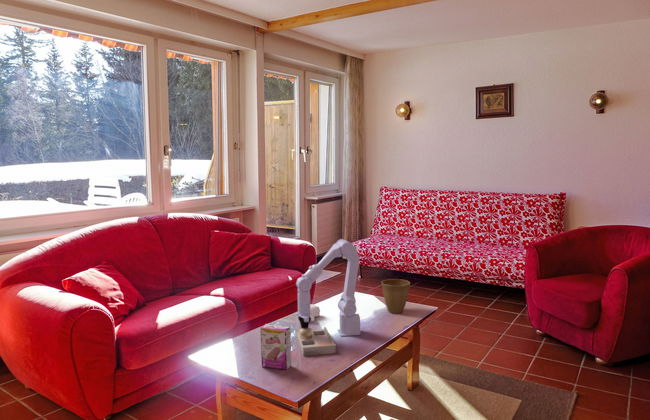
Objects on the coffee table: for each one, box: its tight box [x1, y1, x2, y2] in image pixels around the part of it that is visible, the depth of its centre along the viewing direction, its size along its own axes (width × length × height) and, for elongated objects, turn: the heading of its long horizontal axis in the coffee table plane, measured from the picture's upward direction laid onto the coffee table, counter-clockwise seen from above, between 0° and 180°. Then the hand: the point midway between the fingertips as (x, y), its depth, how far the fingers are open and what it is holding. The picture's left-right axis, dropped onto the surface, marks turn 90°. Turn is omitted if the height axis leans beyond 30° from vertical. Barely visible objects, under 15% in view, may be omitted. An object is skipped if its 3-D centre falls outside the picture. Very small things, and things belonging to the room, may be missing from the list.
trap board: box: [295, 326, 337, 357], centre depth 226 cm, size 14×24×4 cm, turn 10°
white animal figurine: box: [310, 303, 321, 322], centre depth 260 cm, size 9×8×15 cm
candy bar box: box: [260, 323, 292, 371], centre depth 203 cm, size 11×5×16 cm, turn 71°
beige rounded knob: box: [299, 327, 313, 339], centre depth 229 cm, size 5×5×4 cm
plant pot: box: [381, 278, 411, 315], centre depth 269 cm, size 15×15×16 cm
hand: (304, 332), depth 234 cm, fingers closed
